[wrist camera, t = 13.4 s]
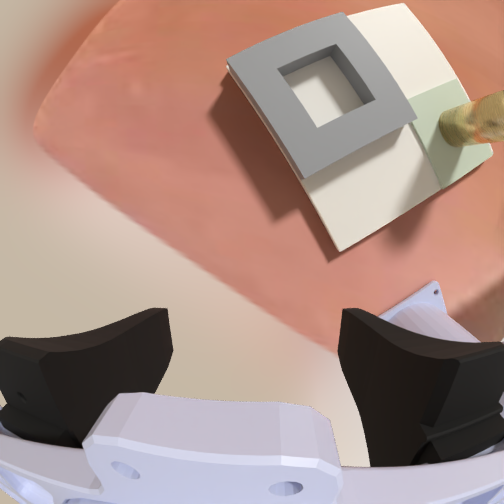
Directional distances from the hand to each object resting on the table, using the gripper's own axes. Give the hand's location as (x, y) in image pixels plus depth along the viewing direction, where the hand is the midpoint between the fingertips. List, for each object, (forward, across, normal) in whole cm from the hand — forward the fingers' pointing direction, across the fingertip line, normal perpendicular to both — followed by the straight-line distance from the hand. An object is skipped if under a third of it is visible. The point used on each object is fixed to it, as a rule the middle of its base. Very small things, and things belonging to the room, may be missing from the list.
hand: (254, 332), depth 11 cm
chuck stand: (+9, -9, -12) cm, 18 cm away
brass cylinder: (+8, -15, -11) cm, 20 cm away
